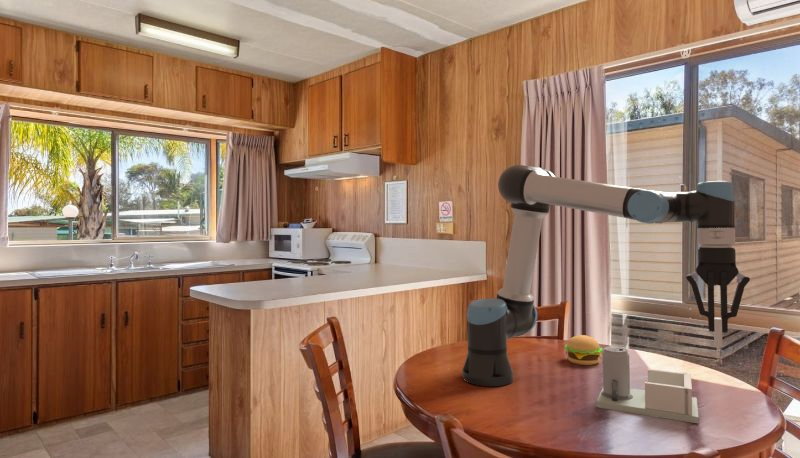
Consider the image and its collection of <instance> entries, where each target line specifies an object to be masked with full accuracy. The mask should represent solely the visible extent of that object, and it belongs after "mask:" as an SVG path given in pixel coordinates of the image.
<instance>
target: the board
mask: <svg viewBox="0 0 800 458" xmlns="http://www.w3.org/2000/svg"><path fill="white" fill-rule="evenodd" d="M595 402H596V403H595V407H596V408H599V409H606V410H613V411H618V412H625V413H630V414H637V415H643V416H650V417H655V418H663V419H668V420H674V421H680V422H686V423H692V424H698V425H699V423H700V422H699V421H700V420H699V409H698V398H697V397H695V396H694V397H693V396H692V415H688V414H682V413H675V412H669V411H662V410H656V409H649V408H645V389H637V388H630V394H629V395H628V396H627V397H624V398H618V401H612V397H611V396H608V395H607V394H606V393H605V392H604V391H603V387H602V388H601V391H600V392H599V395H598V397H597V399H596V401H595Z"/></svg>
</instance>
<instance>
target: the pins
mask: <svg viewBox="0 0 800 458" xmlns="http://www.w3.org/2000/svg"><path fill="white" fill-rule="evenodd" d="M612 401H618V381H617V380H612Z"/></svg>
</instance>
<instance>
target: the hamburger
mask: <svg viewBox="0 0 800 458" xmlns="http://www.w3.org/2000/svg"><path fill="white" fill-rule="evenodd" d="M564 349H565V353H566V355H567V359H568V361H569V362H570V363H573V364H576V365H581V366H594V365H596V364H598V363H600V358H603V353H602V351H603V348H602V346H601V347H600V344H599V342H598V340H596V339H595V338H594V337H591V336H589V335H586V334H585V335H584V334H579V335H575V336H572V337H571V338H569V340H568V341H567V344H565V345H564Z"/></svg>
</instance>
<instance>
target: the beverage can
mask: <svg viewBox="0 0 800 458" xmlns="http://www.w3.org/2000/svg"><path fill="white" fill-rule="evenodd" d="M602 351H603V352H602V386H603V387H602V388H603V391H604V392H605V393H606V394H607V395H608V396H611V397H612V380H617V381H618V398H624V397H627V396H628V395H629V394H630V389H631V375H630V374H631V372H630V369H631V368H630V353H629V351H628V349H627V348H625V347H622V346H621V347H620V346H605V347H604V348H603V350H602Z"/></svg>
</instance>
